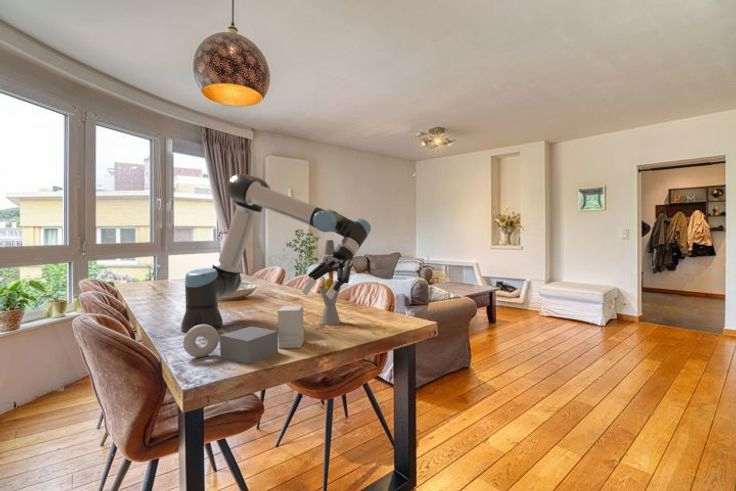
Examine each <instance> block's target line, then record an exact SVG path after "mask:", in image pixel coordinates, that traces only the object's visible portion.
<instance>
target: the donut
mask: <svg viewBox="0 0 736 491" xmlns="http://www.w3.org/2000/svg"><path fill="white" fill-rule="evenodd" d="M185 333H186V332H185ZM202 336H204V337H206V338H207V339H206V340H207V341H206V342H205V343H204V344H202V345H198V344H197V343H196V341H197V339H198V338H199V337H202ZM219 343H220V335H219V332H218V331H217V330H216V329H215V328H213V327H212V326H210V325H207V324H200V325H197V326H194V327H193V328H191V329H190V330H189V331H188V332H187V333H186V334H185V336H184V337H183V341H182V344H183V349H184V350H185V352H186V353H187V354H189V356H191V357H194V358H203V357H207V356H208V355H210V354H212V353H213V352H214V351H215V350H216V348H217V347H218V344H219Z"/></svg>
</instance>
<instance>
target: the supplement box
mask: <svg viewBox="0 0 736 491" xmlns="http://www.w3.org/2000/svg"><path fill="white" fill-rule="evenodd" d="M303 310H304V306H303V305H283V306H282V307H280V308H279V309H278V310H277V323H278V325H277V329H278V330H277V331H278V349H292V348H293V349H294V348H295V349H296V348H297V349H298V348H299V349H300V348H301V347H302V345H303V344H304V343H305V342H304V341H305V337H304V336H305V335H304V334H305V331H304V330H305V329H304V328H305V327H304V325H305V324H304V312H303Z"/></svg>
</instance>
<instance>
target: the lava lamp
mask: <svg viewBox="0 0 736 491" xmlns="http://www.w3.org/2000/svg"><path fill="white" fill-rule="evenodd" d="M324 245H325V246H324V252H323V255H324V256H333V252H334V251H335V249H336V248H335V243H334V240H333V239H326V240H325V244H324ZM331 259H332V258H331ZM331 259H330V258H328V260H331ZM328 268H329V266H328ZM329 269H330V268H329ZM334 272H335V271H331V272H328V273H327V274H328V278H326V279H325V281H324V284H325V285H323V286H319V291H320V292H319V293H320V295H321V297H322V300H323V303H324V307H323V311H322V315H321V319H320V322H319V324H320V323H321V325H324V326H333V325H334V326H335V325H339V324H340V323H341V318H340V316H339V313H338V309H337V307H336V303H337V300H338V297H339V294H340V291H341V287H340V288H339V290H338V291H337V292H336V293H335V295H334V296H333V298H332V299H331V300H330V299H329V298H328V297H327V296H326V293H327V292H328V290H329V289H330V287H331V286H332V284H333V283H334V281H335V280H334Z"/></svg>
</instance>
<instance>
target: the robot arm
mask: <svg viewBox="0 0 736 491" xmlns="http://www.w3.org/2000/svg"><path fill="white" fill-rule="evenodd" d="M226 189H227V190H226V191H227V194H228V197H230V198H231V199H232V200H233V201H234V202H233V205H234V206H235V211H234V214H233V217H232V220H231V222H230V226H229V228H228V231H227V234H226V237H225V240H224V243H223V247H222V250H221V252H220V255H219V258H218V260H216V261H214V262H213V265H212V267H210V268H209V267H208V268H207V267H205V268H197V269H193V270H190V271H188V272H187V273H186V274H185V277H184V278H185V279H184V285H185V286H184V287H185V288H184V289H185V290H184V291H185V292H184V294H185V295H184V296H185V311H184V315H183V318H182V320H181V324H180V330H181V332H183V333H187V332H188V331H189V330H190V329H191V328H193V327H194V326H197V325H200V324H207V325H210V326H212V327H213V328H215V329H216V331H217V330H219V329H222V328H223V327H224V321H223V318H222V315H221V312H220V309H219V302H218V301H219V298H223V297H226V296H227V297H228V296H231V295H233V293H235V292H237V291H238V290H239V289H240V287H241V285H242V277H241V272H242V268H240V265H241V264H240V263H241V260H242V258H243V255H244V253H245V248H246V247H247V243H248V240H249V237H250V234H251V231H252V229H253V225H254V222H255V220H256V218H257V215H259V214H261V213H262V210H263V208H264V209H266V210H269V211H271V212H273V213H277V214H279V215H282V216H284V217H286V218H290V219H292V220H294V221H298V222H299V223H302V224H306V225H307V226H309V227H312V228H315V229H316V230H318V231H320V232H323V233H329V232H330V233H336V234H338V235H339V236H341V237H343V238H342V239H341V241H340V242H339V243H338V244H337V247H335V248H334V249H335V251H334V252H333V255H332V258H331V260H329V258H328V257H325V258H324V260H322V262H320V263H319V264H318V265H317V266H316V267H315V268H314V269H313V270H311V271H310V272H309V273H308V274H307V276H308V277H309V279H308V280H307V282H306V283H305V285H304V286H303V288H302V289H301V292H302V294H304V295H305V296H308V295H309V293H310V291H311V290H312V289H313V287H314V286H315V284H316V283H317V281H318V279H320V278H321V277H322V278H323V276H325V275H327V274H328V272H331V271H334V272H335V273H337V274H336V275H337V278H336V279H335V280H333V281H334V283H333V284H332V286H331V287H330V289H329V290H328V292H327V293H326V296H327V297H328V298H329V299H330V300H331V299H332V298H333V296H334V295H335V293H336V292H337V291H338V290H339V288H340V287H341V286H343V285H345V284H346V285H347V284H349V281H350V276H351V270H352V267H353V266H354V264H353V262H352V260H353V259H354V257H355V255H357V252H358V251H359V249H361V246H362V245H363V243H364V242H365V240H366V239H367V238H368V236H369V234H370V233H371V231H372V229H371V228H372V227H371V224H370V223H369V221H367V220H366V219H365V218H364V219H363V218H356V219H355V220H352V219H349V218H348V217H346V216H345V215H342V214H341V213H338V212H337V211H334V210H332V209H327V210H326V209H324V208H320V207H319V206H316V205H312V204H310V203H307V202H305V201H303V200H300V199H297V198H295V197H292V196H289V195H286V194H285V193H284V194H283V193H281V192H278V191H276V190H273V189H272V188H271V187H270V185H269V184H268V182H266V181H265V180H263V179H261V178H260V177H256V176H253V175H250V174H247V173H237V174H234V175H233V176H231V177H230V178H229V179H228V180H227V183H226ZM328 266H329V268H330V269H329V268H328ZM340 289H341V288H340Z"/></svg>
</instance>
